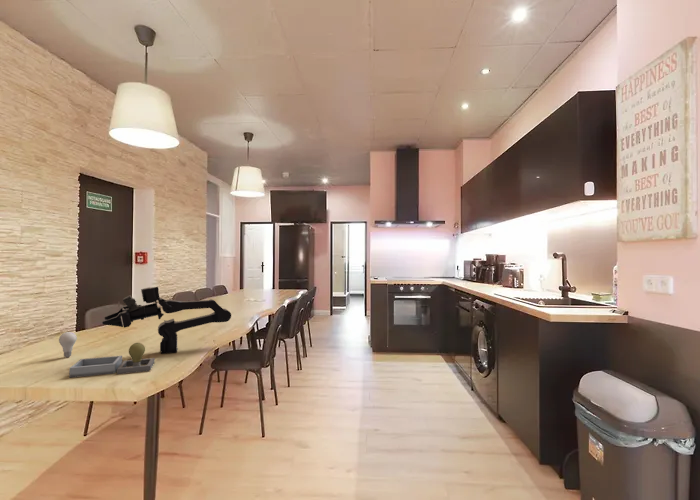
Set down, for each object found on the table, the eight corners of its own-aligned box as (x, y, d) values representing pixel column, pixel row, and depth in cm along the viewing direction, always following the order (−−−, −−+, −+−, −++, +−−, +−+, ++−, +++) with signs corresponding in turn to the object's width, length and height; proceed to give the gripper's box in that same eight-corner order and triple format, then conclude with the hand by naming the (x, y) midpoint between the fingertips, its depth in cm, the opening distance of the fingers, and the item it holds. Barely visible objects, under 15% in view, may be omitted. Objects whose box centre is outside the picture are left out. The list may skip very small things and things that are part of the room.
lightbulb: (77, 357, 152) (78, 332, 153) (59, 360, 148) (60, 334, 148) (74, 354, 157) (75, 329, 157) (57, 357, 152) (57, 331, 152)
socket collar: (154, 362, 146) (154, 357, 146) (150, 370, 135) (150, 365, 136) (123, 365, 142) (123, 360, 142) (116, 374, 131) (117, 368, 131)
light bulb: (137, 371, 135) (137, 345, 135) (124, 369, 136) (125, 344, 137) (148, 366, 141) (148, 341, 141) (136, 365, 142) (136, 340, 142)
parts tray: (122, 364, 144) (122, 355, 144) (114, 373, 132) (114, 364, 132) (80, 367, 138) (80, 359, 138) (69, 377, 127) (69, 368, 127)
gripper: (142, 291, 165) (102, 298, 157) (141, 297, 149) (97, 306, 141) (146, 314, 166) (107, 322, 159) (146, 322, 150) (102, 332, 143)
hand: (103, 320), depth 150 cm, fingers open, 9 cm apart
